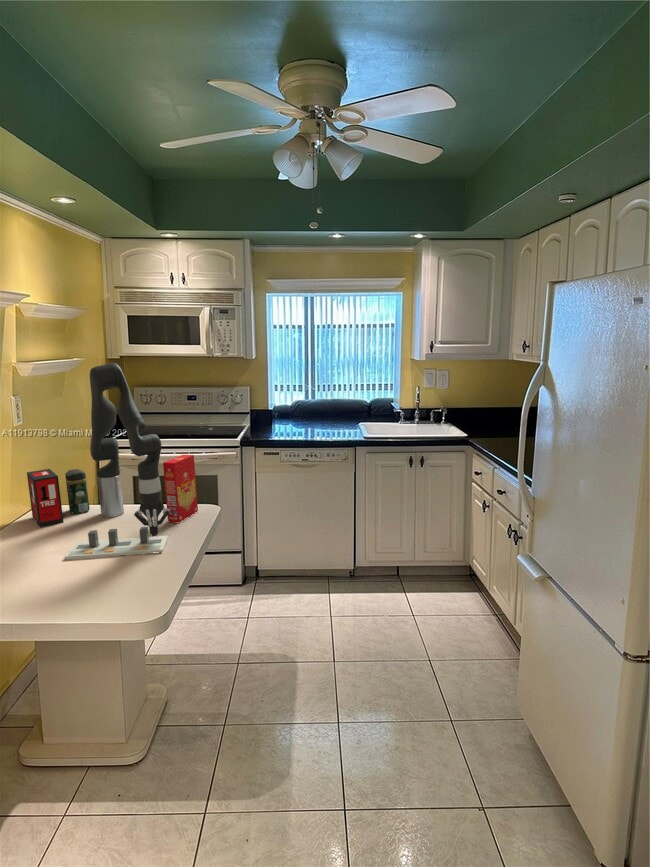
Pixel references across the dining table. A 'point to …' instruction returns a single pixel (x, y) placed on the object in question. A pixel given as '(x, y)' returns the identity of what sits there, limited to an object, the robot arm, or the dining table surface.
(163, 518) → the robot arm
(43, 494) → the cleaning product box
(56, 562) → the dining table surface
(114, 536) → the middle switch
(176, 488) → the food packaging
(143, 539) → the switch
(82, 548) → the switch panel
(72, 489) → the coffee jar
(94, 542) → the switch
